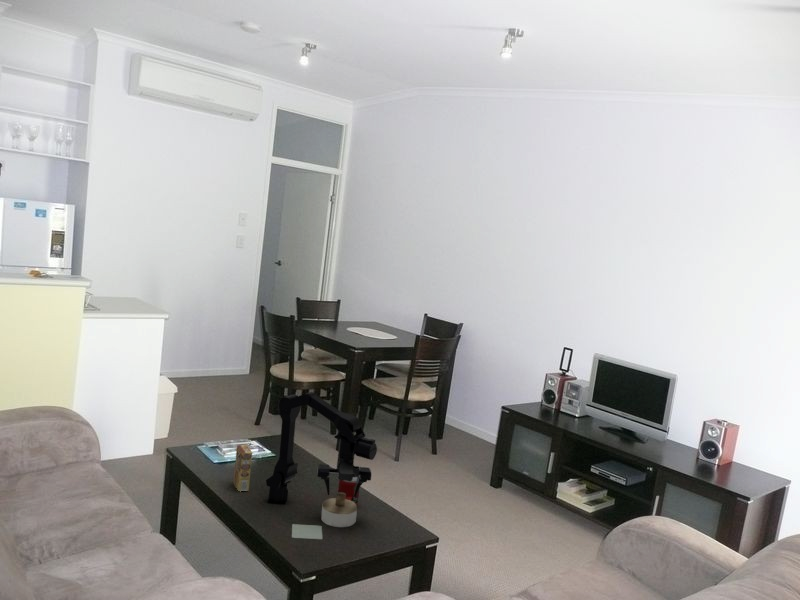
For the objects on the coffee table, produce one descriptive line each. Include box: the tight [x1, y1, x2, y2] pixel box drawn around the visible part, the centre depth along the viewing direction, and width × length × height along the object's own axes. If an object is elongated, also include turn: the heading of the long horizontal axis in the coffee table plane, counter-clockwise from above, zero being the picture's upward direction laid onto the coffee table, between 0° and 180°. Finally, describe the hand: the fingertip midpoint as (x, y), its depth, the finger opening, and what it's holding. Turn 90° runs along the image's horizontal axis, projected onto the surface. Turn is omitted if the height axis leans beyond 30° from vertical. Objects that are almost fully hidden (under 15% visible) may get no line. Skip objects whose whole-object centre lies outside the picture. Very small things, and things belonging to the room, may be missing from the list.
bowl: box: [320, 504, 358, 528], centre depth 240 cm, size 12×12×5 cm
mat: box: [291, 523, 323, 540], centre depth 228 cm, size 10×10×1 cm
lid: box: [322, 491, 358, 514], centre depth 240 cm, size 12×12×5 cm
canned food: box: [337, 477, 361, 506], centre depth 254 cm, size 8×8×11 cm
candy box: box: [233, 444, 253, 493], centre depth 258 cm, size 9×4×15 cm, turn 27°
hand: (341, 495), depth 240 cm, fingers open, 9 cm apart
